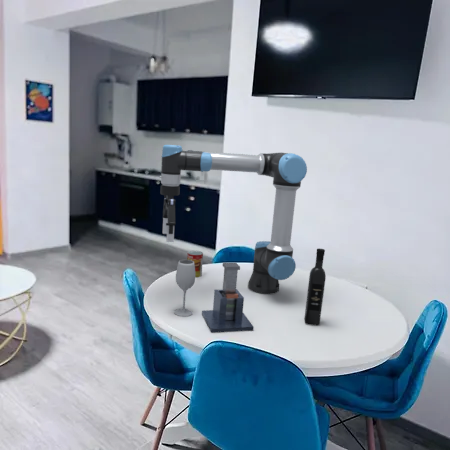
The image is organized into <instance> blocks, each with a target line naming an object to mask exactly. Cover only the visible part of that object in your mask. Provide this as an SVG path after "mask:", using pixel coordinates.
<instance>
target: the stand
mask: <svg viewBox="0 0 450 450" xmlns="http://www.w3.org/2000/svg"><path fill="white" fill-rule="evenodd" d="M222 292H223V288H221V289H214V291H213V293H214V295H213V303H212V304H213V307H212V309H211V310H209V309H207V310H201V315H202V318H203V319H204V322H205V324H206V325H207V328H208V330H209V332H210V333H211V334H215V333H232V332H233V333H235V332H249V331H250V332H252V331H254V328H255V327H254V325H253V324H252V322H250V320H249V318H248V317H247V316H246V314H245V313H244V304H245V303H244V301H245V297H244V296H243V295H242V294H241V293H240V291H239V289H237V288H236V294H226V297H223V296H222ZM227 298H236V300H235V308H234V311H235V314H234V320H225V318H226V306H227Z"/></svg>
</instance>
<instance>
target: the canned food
mask: <svg viewBox="0 0 450 450" xmlns="http://www.w3.org/2000/svg"><path fill="white" fill-rule="evenodd" d="M203 258H204V252H203V251H200V250H195V249H193V250H188V251H187V255H186V260H192V261H194V265H195V279H196V278H197V279H198V278H201V277H202V273H203V272H202V271H203V262H204V261H203Z"/></svg>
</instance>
